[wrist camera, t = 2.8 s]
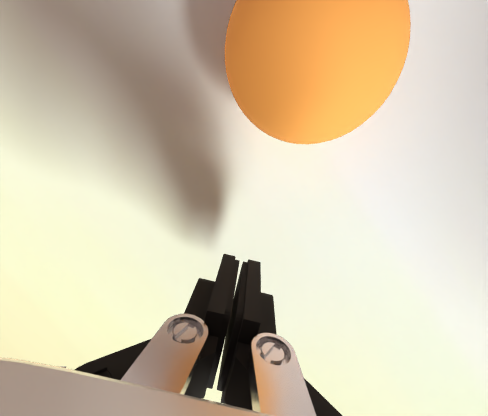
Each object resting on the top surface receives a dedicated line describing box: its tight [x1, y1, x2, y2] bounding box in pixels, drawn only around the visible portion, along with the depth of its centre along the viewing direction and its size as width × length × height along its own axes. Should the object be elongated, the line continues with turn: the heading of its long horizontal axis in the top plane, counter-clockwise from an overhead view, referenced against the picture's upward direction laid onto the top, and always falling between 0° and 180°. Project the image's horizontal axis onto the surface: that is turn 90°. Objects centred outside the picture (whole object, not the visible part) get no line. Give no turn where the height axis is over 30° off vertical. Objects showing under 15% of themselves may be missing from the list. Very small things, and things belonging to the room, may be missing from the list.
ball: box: [225, 0, 410, 144], centre depth 9 cm, size 6×6×6 cm
